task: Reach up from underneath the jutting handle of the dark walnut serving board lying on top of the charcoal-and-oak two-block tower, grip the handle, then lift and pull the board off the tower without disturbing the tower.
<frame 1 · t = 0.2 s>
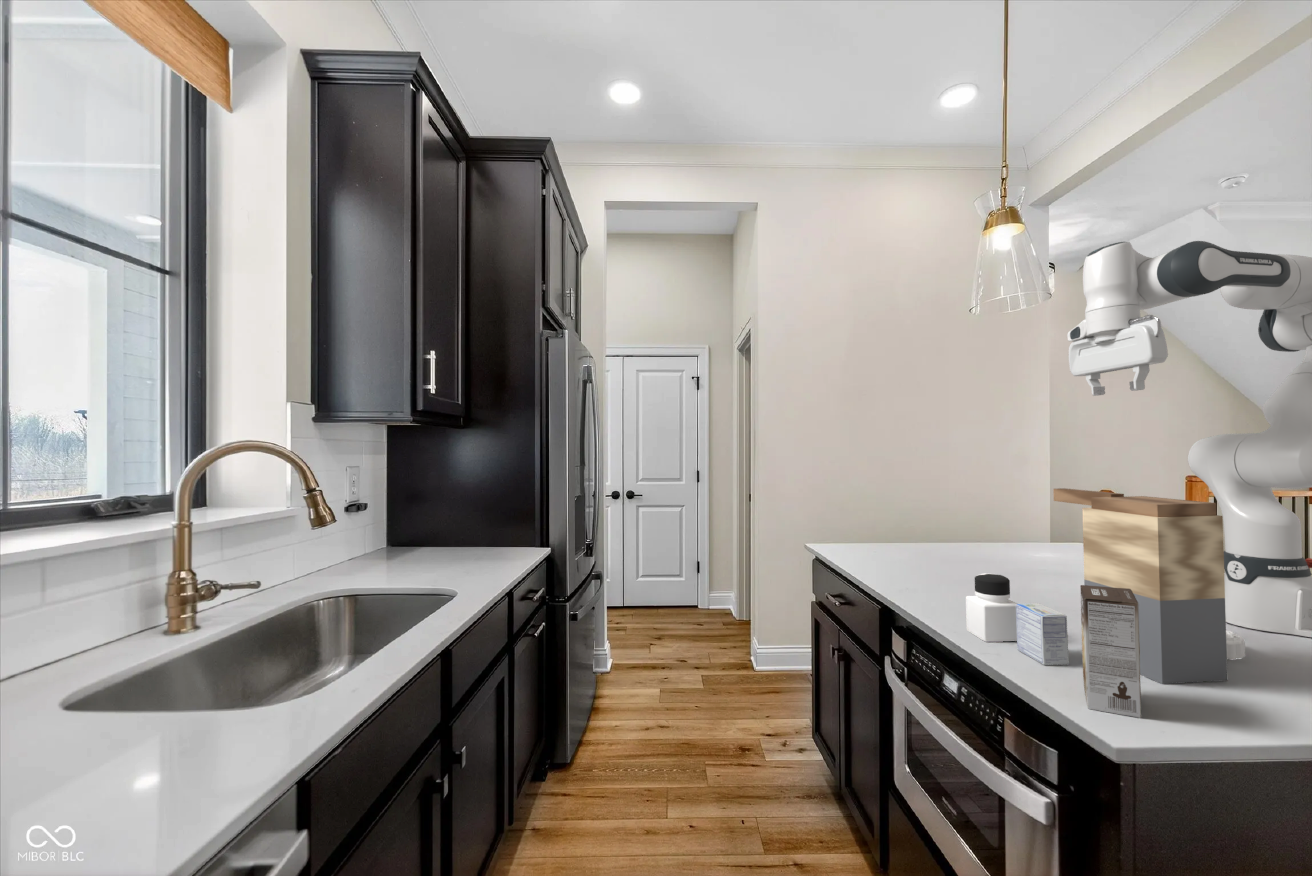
hand: (1117, 392, 120), 48 cm above the counter, tool pointing down, fingers open, 8 cm apart
tower base block: (1151, 664, 101), on the counter
walnut board: (1150, 511, 101), point 26 cm above the counter, touching tower top block
medicine box: (1042, 658, 105), on the counter
mooncake: (1199, 650, 109), on the counter
coffee box: (1111, 703, 87), on the counter
medicine bottle: (993, 637, 117), on the counter
tower top block: (1149, 588, 101), point 13 cm above the counter, touching tower base block, walnut board
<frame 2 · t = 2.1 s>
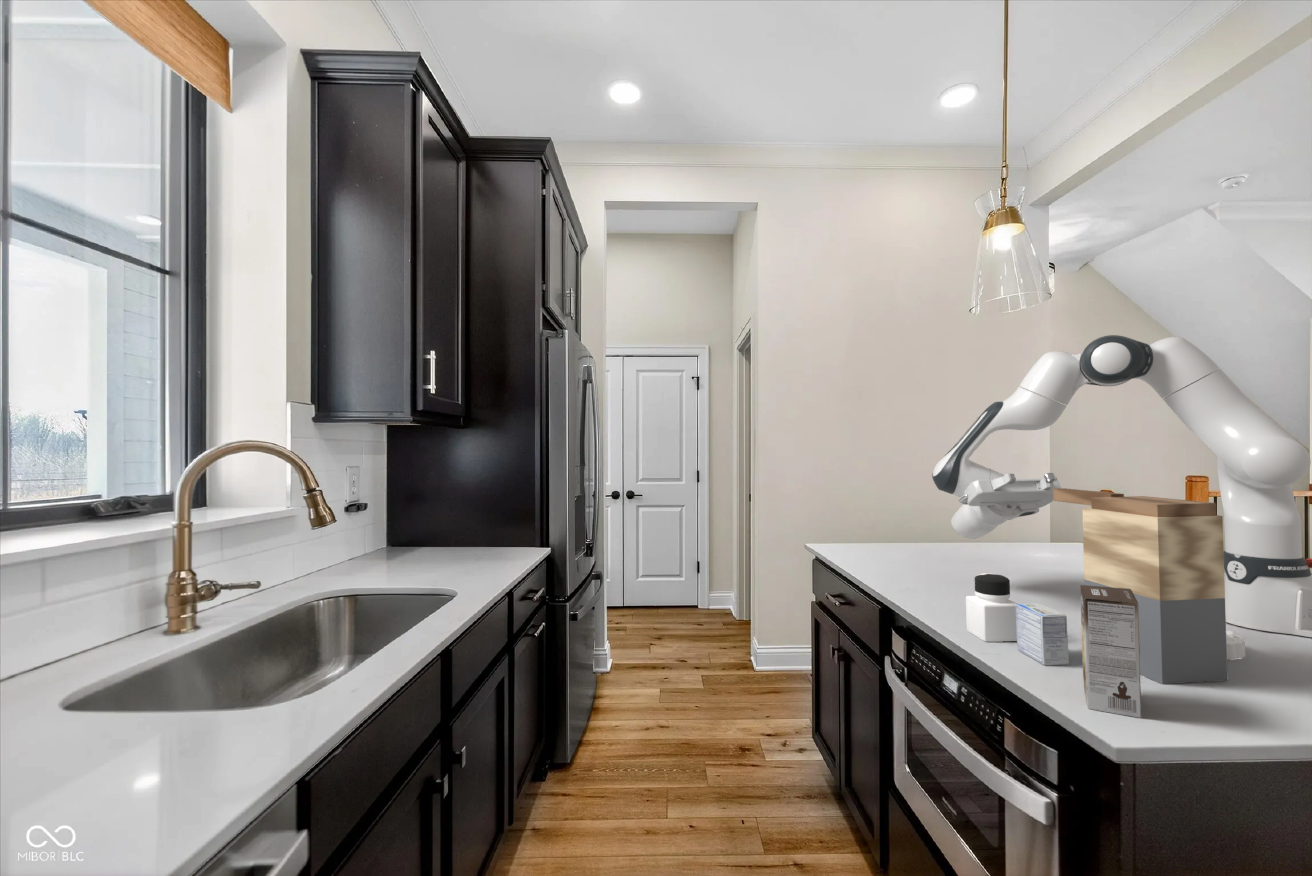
hand: (1032, 476, 129), 31 cm above the counter, tool pointing upward, fingers open, 8 cm apart
nothing on the counter moved.
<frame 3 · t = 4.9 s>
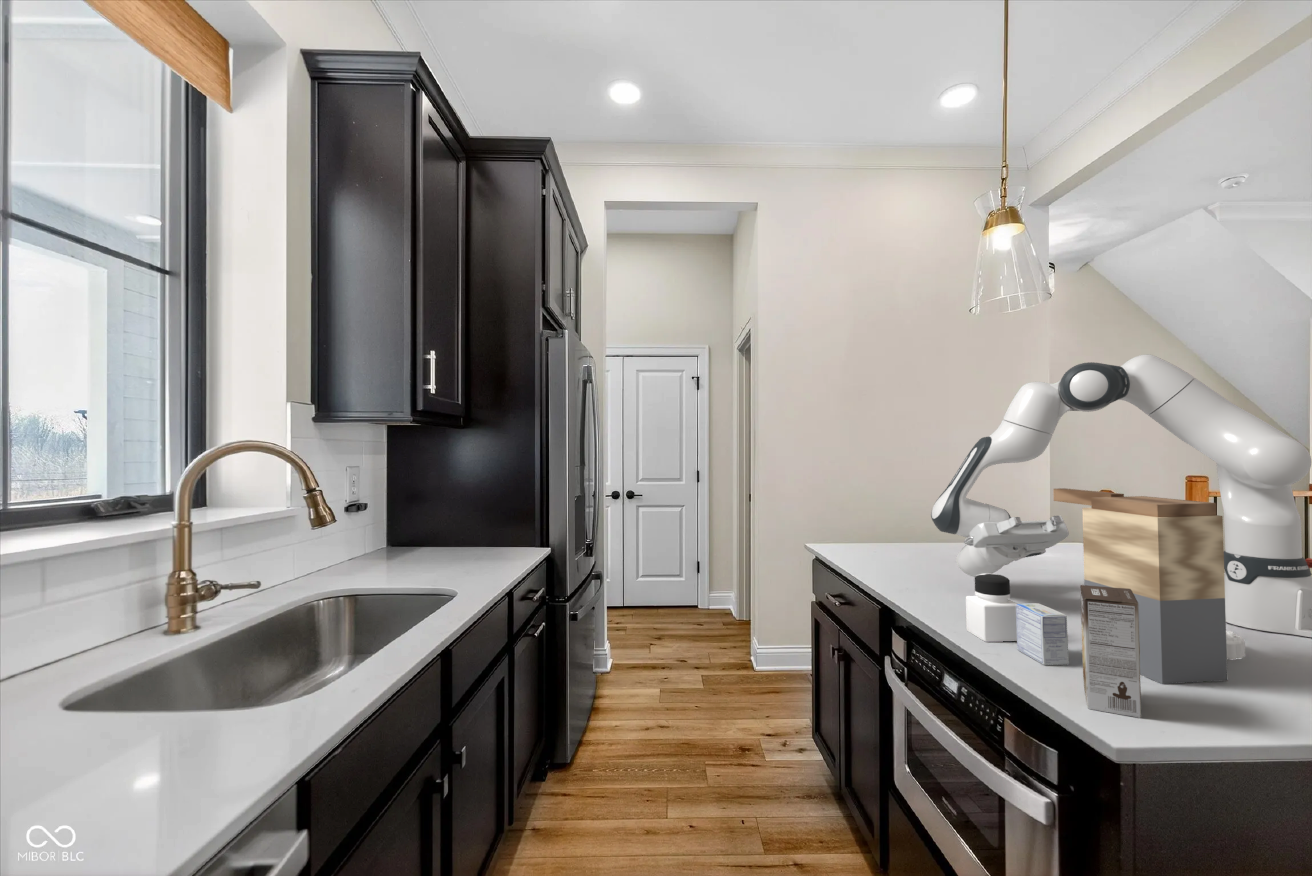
hand: (1038, 519, 127), 21 cm above the counter, tool pointing upward, fingers open, 8 cm apart
nothing on the counter moved.
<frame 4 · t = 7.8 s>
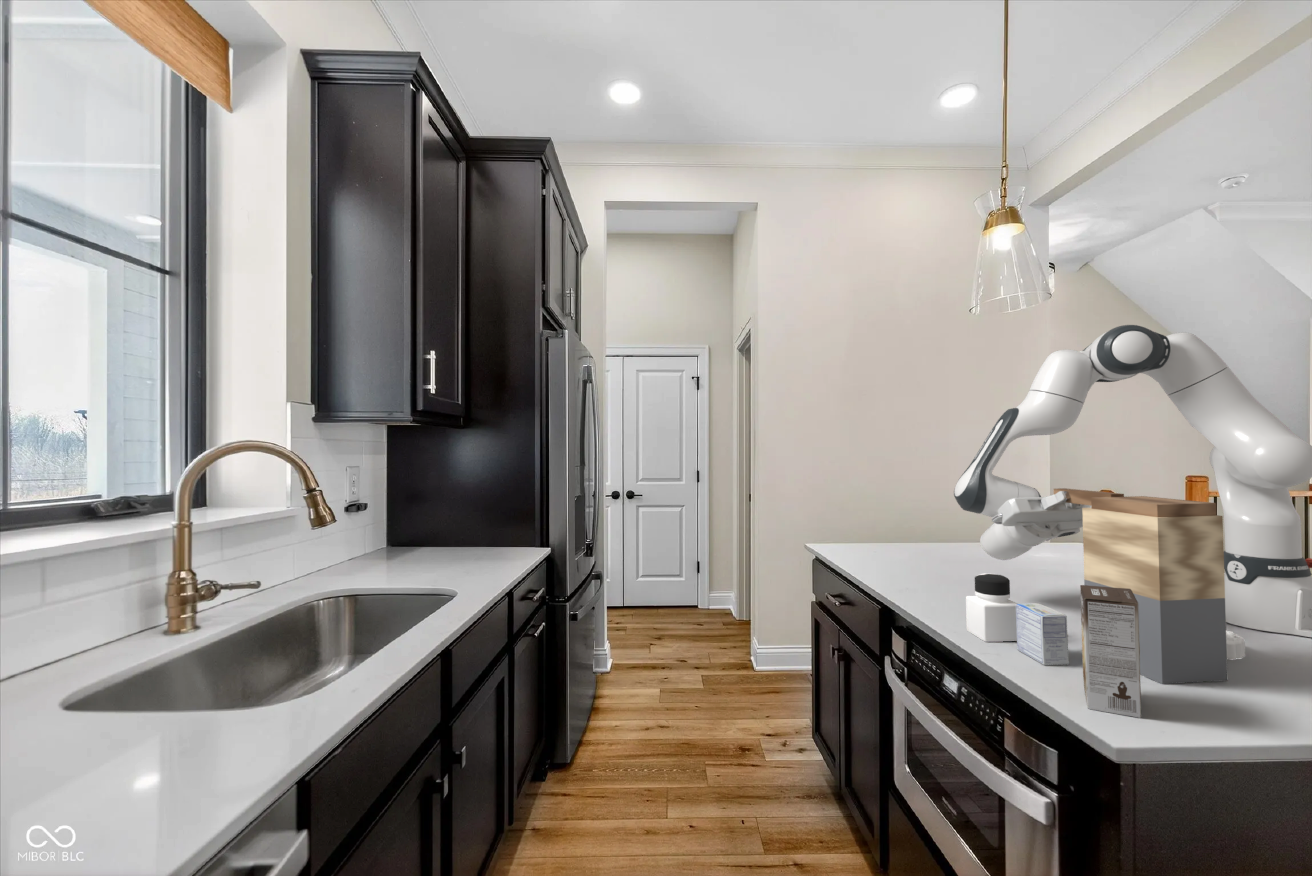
hand: (1075, 494, 117), 28 cm above the counter, tool pointing upward, fingers closed on walnut board, 2 cm apart
walnut board: (1150, 511, 101), point 26 cm above the counter, touching gripper, tower top block
everything else where it was.
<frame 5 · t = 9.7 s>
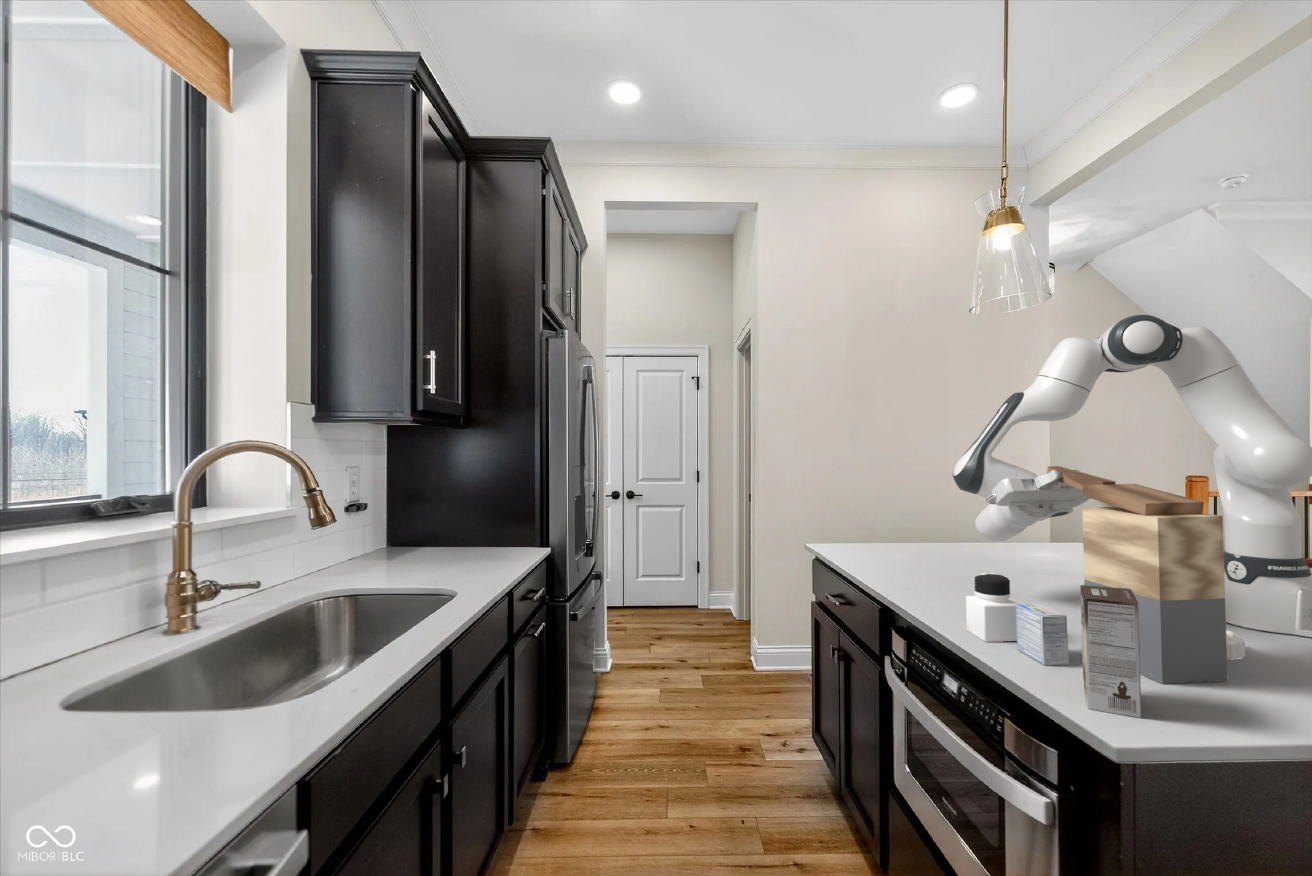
hand: (1068, 473, 119), 32 cm above the counter, tool pointing upward, fingers closed on walnut board, 2 cm apart
walnut board: (1138, 504, 103), point 27 cm above the counter, tilted 10°, touching gripper
tower top block: (1149, 588, 101), point 13 cm above the counter, touching tower base block
everything else where it was.
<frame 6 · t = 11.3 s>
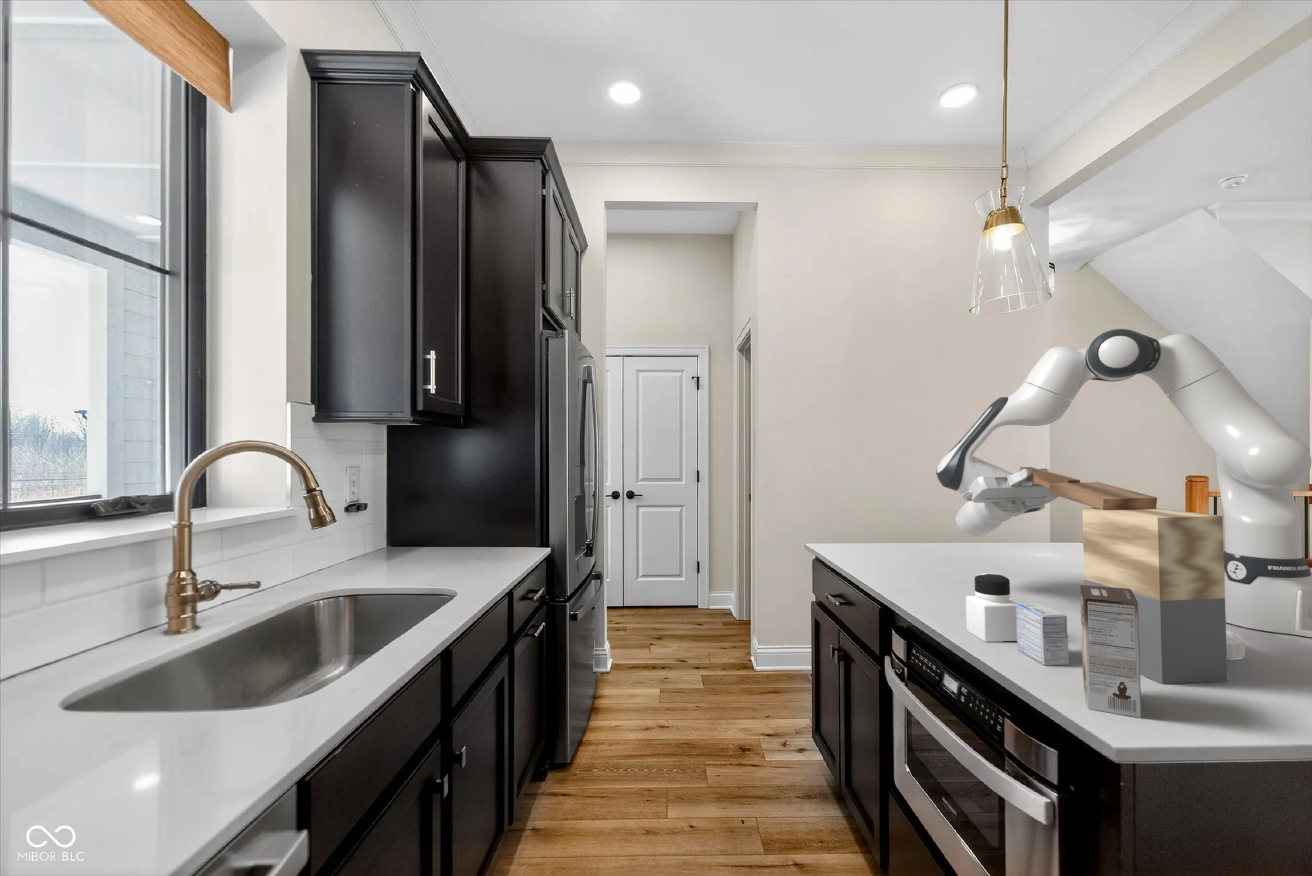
hand: (1038, 471, 127), 32 cm above the counter, tool pointing upward, fingers closed on walnut board, 2 cm apart
walnut board: (1099, 500, 111), point 27 cm above the counter, tilted 9°, touching gripper
everything else where it was.
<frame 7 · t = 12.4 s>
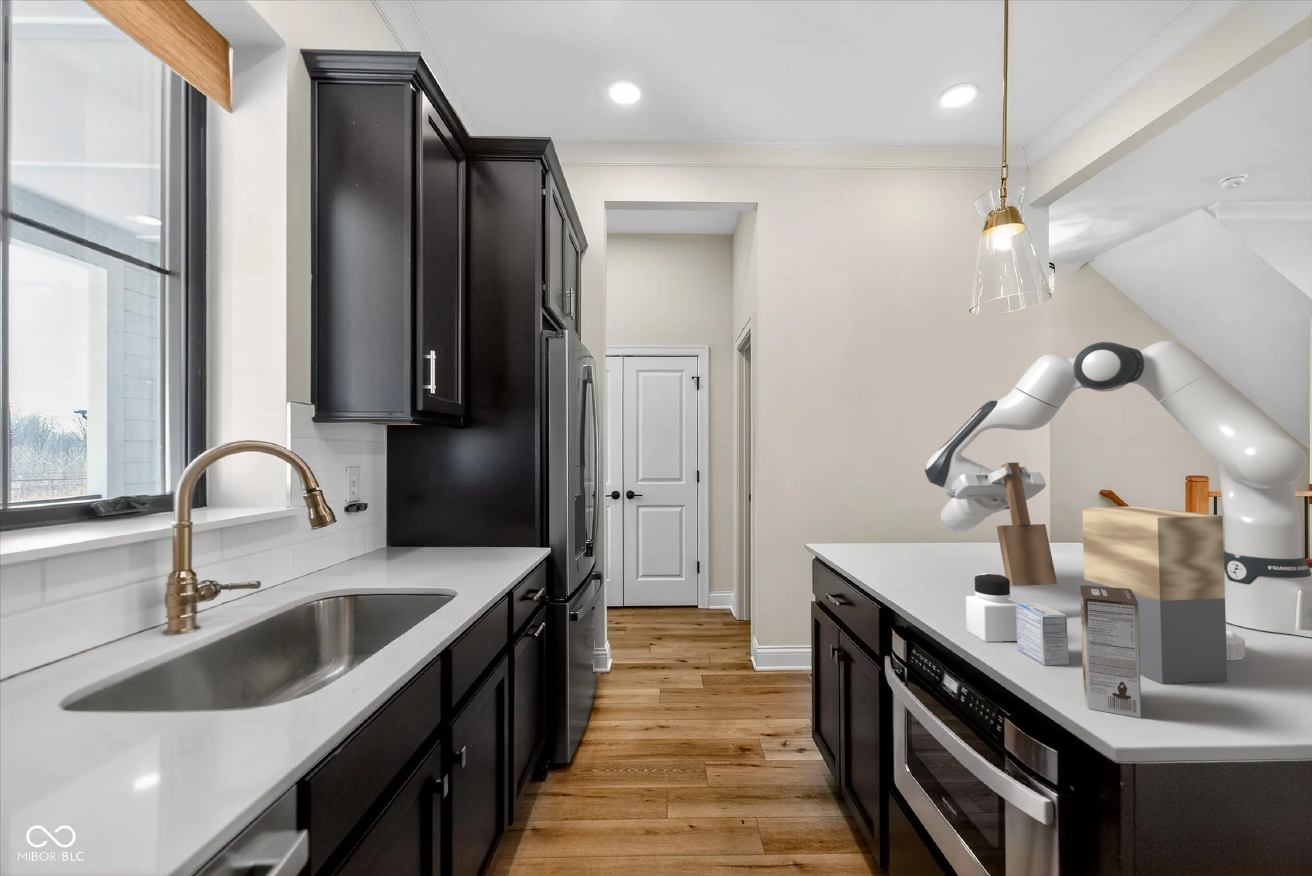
hand: (1016, 469, 134), 32 cm above the counter, tool pointing upward, fingers closed on walnut board, 2 cm apart
walnut board: (1023, 555, 132), point 13 cm above the counter, tilted 76°, touching gripper
everything else where it was.
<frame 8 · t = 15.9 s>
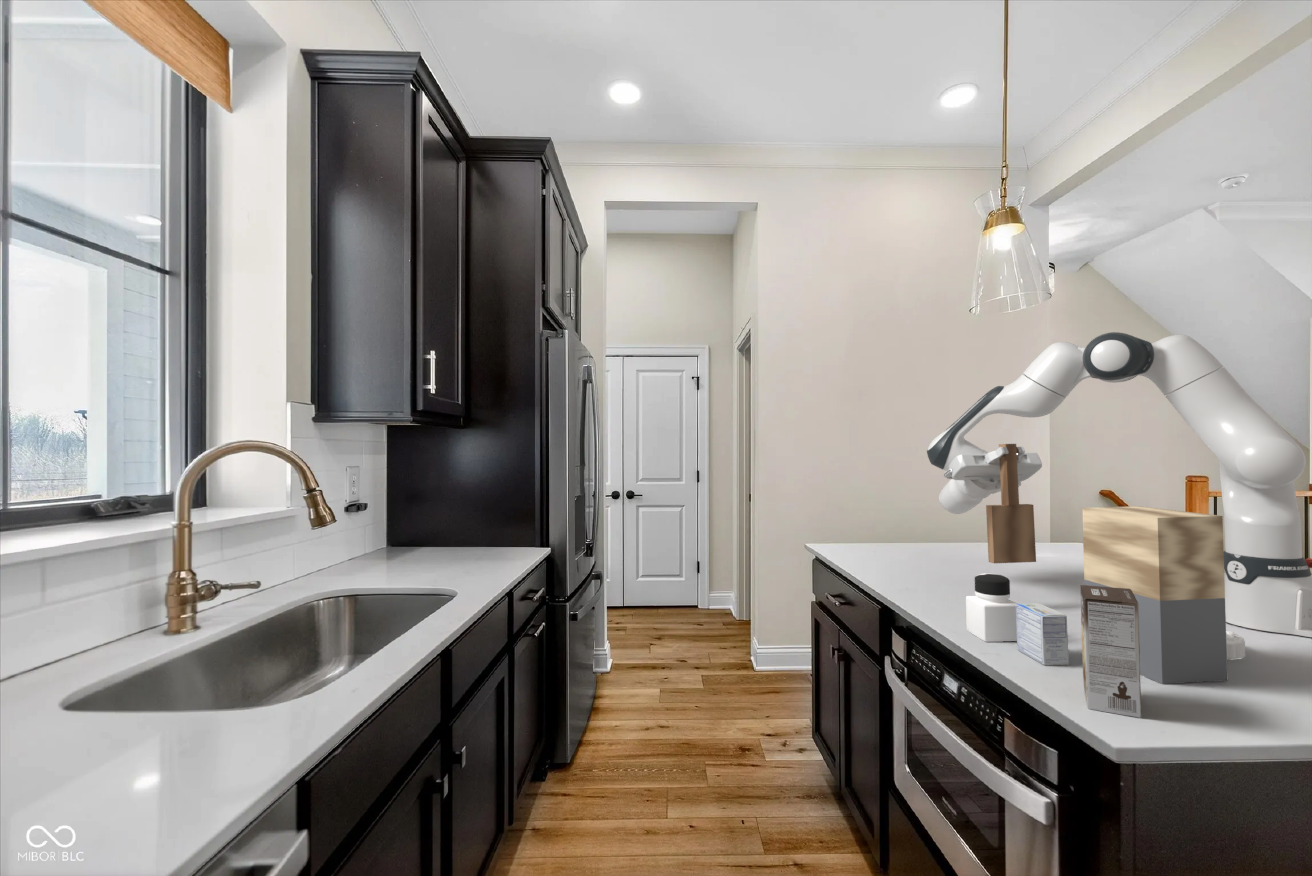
hand: (1013, 449, 135), 36 cm above the counter, tool pointing upward, fingers closed on walnut board, 2 cm apart
walnut board: (1008, 532, 137), point 17 cm above the counter, tilted 88°, touching gripper
everything else where it was.
at the end: the gripper is holding walnut board; walnut board inside the target area (7.2 cm from its centre), point 17.1 cm above the counter; tower top block moved 0.0 cm from its start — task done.
